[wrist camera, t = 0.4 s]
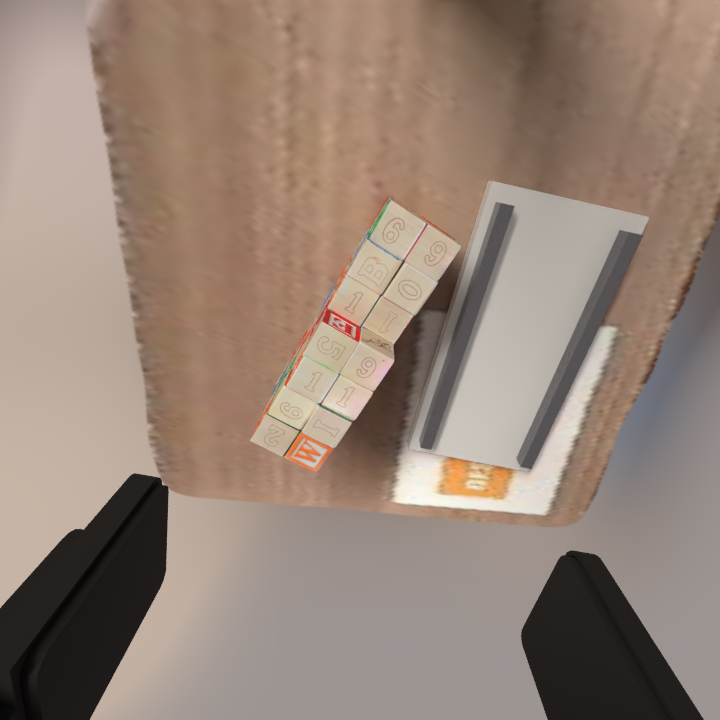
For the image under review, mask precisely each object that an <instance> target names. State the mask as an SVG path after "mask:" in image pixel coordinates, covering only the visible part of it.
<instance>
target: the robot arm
mask: <svg viewBox="0 0 720 720" xmlns="http://www.w3.org/2000/svg"><path fill="white" fill-rule="evenodd" d="M167 518H168V486H164V485H162V480H161V478H158V477H152V476H147V475H141V474H132V475H131V476H130V477H129V478H128V479H127V480H126V481H125V482H124V484H123V485H122V486H121V487H120V488H119V490H118V491H117V492H116V493H115V494H114V495H113V496H112V498H111V499H110V500H109V501H108V503H106V505H105V506H104V507H103V508H102V509H101V510H100V512H99V513H98V514H97V515H96V516H95V517H94V519H93V520H92V521H91V522H90V523H89V524H88V526H87V527H86V528H85V529H84V530H82V529H75V530H73V531H71V532H70V533H68V534H67V535H66V536H65V537H64V538H63V539H62V540H61V541H60V542H59V543H58V545H57V546H56V547H55V548H54V549H53V550H52V551H51V552H50V553H49V555H48V556H47V557H46V558H45V559H44V560H43V561H42V562H41V563H40V565H39V566H38V567H37V568H36V569H35V570H34V571H33V573H32V574H31V575H30V576H29V577H28V578H27V579H26V580H25V581H24V582H23V583H22V585H21V586H20V587H19V588H18V589H17V590H16V591H15V592H14V594H13V595H12V596H11V597H10V598H9V599H8V600H7V601H6V602H5V604H4V605H3V606H2V607H1V608H0V720H90V718H91V716H92V714H93V712H94V710H95V708H96V706H97V705H98V703H99V701H100V699H101V697H102V695H103V694H104V692H105V690H106V688H107V686H108V684H109V682H110V680H111V679H112V677H113V675H114V673H115V671H116V669H117V667H118V666H119V664H120V661H121V660H122V658H123V656H124V654H125V652H126V651H127V649H128V647H129V645H130V643H131V641H132V639H133V637H134V636H135V634H136V632H137V630H138V628H139V626H140V624H141V623H142V621H143V619H144V617H145V615H146V613H147V611H148V609H149V608H150V606H151V604H152V602H153V600H154V598H155V596H156V595H157V593H158V591H159V589H160V587H161V585H162V582H163V580H164V576H165V572H166V551H167V520H168V519H167ZM521 638H522V645H523V648H524V651H525V654H526V657H527V660H528V663H529V666H530V669H531V671H532V675H533V677H534V681H535V683H536V686H537V689H538V692H539V695H540V698H541V701H542V704H543V707H544V710H545V713H546V716H547V718H548V720H703V718H702V716H701V715H700V713H699V712H698V710H697V708H696V707H695V705H694V704H693V702H692V701H691V699H690V697H689V696H688V694H687V693H686V691H685V690H684V688H683V687H682V685H681V684H680V682H679V680H678V679H677V677H676V676H675V674H674V672H673V671H672V670H671V668H670V666H669V665H668V663H667V662H666V660H665V659H664V657H663V655H662V654H661V652H660V651H659V649H658V647H657V646H656V644H655V643H654V642H653V640H652V638H651V637H650V635H649V633H648V632H647V630H646V629H645V627H644V626H643V624H642V623H641V621H640V619H639V618H638V616H637V615H636V613H635V612H634V610H633V609H632V607H631V605H630V604H629V602H628V601H627V599H626V597H625V596H624V594H623V593H622V591H621V590H620V588H619V587H618V585H617V583H616V582H615V580H614V579H613V577H612V576H611V574H610V573H609V571H608V569H607V568H606V566H605V565H604V563H603V562H602V560H601V559H600V558H599V557H598V556H597V555H595V554H589V553H583V552H578V551H569V552H567V553H566V555H565V556H561V557H560V559H559V560H558V562H557V564H556V566H555V568H554V570H553V571H552V573H551V575H550V577H549V579H548V581H547V583H546V585H545V586H544V588H543V590H542V592H541V594H540V596H539V598H538V600H537V602H536V604H535V605H534V608H533V609H532V611H531V613H530V615H529V617H528V619H527V621H526V623H525V625H524V627H523V629H522V634H521Z"/></svg>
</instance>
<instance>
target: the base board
mask: <svg viewBox="0 0 720 720" xmlns="http://www.w3.org/2000/svg"><path fill="white" fill-rule="evenodd" d="M649 218H650V217H647V216H643V215H638V214H634V213H630V212H625V211H621V210H617V209H612V208H608V207H604V206H599V205H595V204H591V203H586V202H582V201H578V200H573V199H569V198H565V197H560V196H556V195H552V194H547V193H543V192H539V191H534V190H530V189H526V188H521V187H517V186H512V185H508V184H504V183H499V182H495V181H488V182H487V186H486V189H485V192H484V195H483V199H482V202H481V205H480V208H479V212H478V215H477V218H476V221H475V225H474V228H473V231H472V234H471V238H470V241H469V244H468V247H467V250H466V254H465V257H464V260H463V263H462V267H461V270H460V273H459V276H458V280H457V283H456V286H455V289H454V293H453V296H452V299H451V302H450V305H449V309H448V312H447V315H446V318H445V322H444V325H443V328H442V331H441V335H440V338H439V341H438V344H437V348H436V351H435V354H434V357H433V361H432V364H431V367H430V370H429V373H428V377H427V380H426V383H425V386H424V390H423V393H422V396H421V399H420V403H419V406H418V409H417V412H416V416H415V419H414V422H413V425H412V429H411V432H410V435H409V438H408V448H409V449H410V450H416V451H421V452H426V453H431V454H437V455H442V456H447V457H453V458H458V459H463V460H468V461H474V462H479V463H484V464H489V465H495V466H500V467H505V468H511V469H516V470H521V471H526V472H529V469H531V468H532V466H533V464H534V462H535V460H536V458H537V456H538V454H539V452H540V450H541V447H542V445H543V443H544V441H545V439H546V437H547V435H548V433H549V431H550V429H551V427H552V424H553V422H554V420H555V418H556V416H557V414H558V412H559V410H560V408H561V406H562V404H563V401H564V399H565V397H566V395H567V393H568V391H569V389H570V387H571V385H572V383H573V381H574V379H575V376H576V374H577V372H578V370H579V368H580V366H581V364H582V362H583V360H584V358H585V356H586V353H587V351H588V349H589V347H590V345H591V343H592V341H593V339H594V337H595V335H596V333H597V330H598V328H599V326H600V324H601V322H602V320H603V318H604V316H605V314H606V312H607V310H608V308H609V305H610V303H611V301H612V299H613V297H614V295H615V293H616V291H617V289H618V287H619V285H620V282H621V280H622V278H623V276H624V274H625V272H626V270H627V268H628V266H629V264H630V262H631V259H632V257H633V255H634V253H635V251H636V249H637V247H638V245H639V243H640V241H641V239H642V236H643V235H642V232H643V230H644V228H645V226H646V224H647V222H648V220H649Z"/></svg>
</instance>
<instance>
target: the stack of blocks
mask: <svg viewBox="0 0 720 720" xmlns="http://www.w3.org/2000/svg"><path fill="white" fill-rule="evenodd" d="M461 247H462V246H461V245H460V244H459V243H458V242H456V241H455V239H453V238H452V237H451V236H449V235H448V234H447V233H445V232H444V231H442V230H441V229H439V228H438V227H436V226H435V225H433V224H432V223H430V222H429V221H428V220H426V219H425V218H423V217H421V216H419V215H418V214H416V213H415V212H414V211H412V210H411V209H409V208H408V207H406V206H405V205H403V204H402V203H400V202H399V201H397V200H395V199H394V198H392V197H390V196H388V198H387V200H386V201H385V203H384V205H383V207H382V208H381V210H380V212H379V213H378V215H377V217H376V219H375V220H374V222H373V224H372V226H371V227H369V228H368V230H367V232H366V233H365V235H364V237H363V238H362V240H361V242H360V243H359V245H358V247H357V249H356V250H355V252H354V254H353V255H352V257H351V258H350V260H349V262H348V263H347V265H346V267H345V268H344V270H343V272H342V273H341V275H340V277H339V278H338V280H337V283H336V285H335V286H334V288H333V290H332V291H331V293H330V295H329V296H328V298H327V300H326V301H325V303H324V305H323V307H322V308H321V310H320V312H319V313H318V315H317V317H316V318H315V320H314V322H313V323H312V325H311V327H310V328H309V330H308V331H307V332H306V334H305V335H304V337H303V338H302V340H301V342H300V343H299V345H298V347H297V348H296V350H295V352H294V353H293V355H292V356H291V358H290V359H289V361H288V363H287V364H286V366H285V367H284V369H283V371H282V372H281V374H280V377H279V379H278V381H277V383H276V385H275V389H274V391H273V393H272V396H271V398H270V400H269V401H268V403H267V405H266V407H265V409H264V411H263V413H262V415H261V418H260V420H259V422H258V424H257V426H256V428H255V431H254V433H253V435H252V437H251V441H252V442H254V443H256V444H258V445H260V446H262V447H264V448H266V449H268V450H270V451H272V452H273V453H275V454H277V455H279V456H281V457H282V456H285V458H286V459H288V460H290V461H292V462H294V463H296V464H298V465H300V466H302V467H304V468H306V469H309V470H311V471H313V472H316V473H317V472H318V470H319V469H320V467H321V466H322V465H323V463H324V462H325V460H326V459H327V458H328V456H329V455H330V453H331V452H332V450H333V448H335V447H336V446H337V445H338V443H339V442H340V440H341V439H342V437H343V436H344V435H345V433H346V432H347V430H348V429H349V427H350V426H351V424H352V421H353V420H355V419H356V418H357V417H358V416H359V414H360V412H361V411H362V409H363V408H364V407H365V405H366V404H367V402H368V401H369V399H370V398H371V396H372V394H373V392H374V391H375V390H376V388H377V387H378V385H379V384H380V382H381V381H382V379H383V378H384V376H385V375H386V373H387V372H388V371H389V369H390V368H391V366H392V365H393V363H394V361H395V360H394V346H393V345H394V344H395V343H396V341H397V340H398V338H399V337H400V335H401V334H402V332H403V331H404V330H405V328H406V327H407V325H408V324H409V323H410V321H411V320H412V318H413V317H414V316H415V315H416V314H417V313H418V312H419V310H420V309H421V307H422V306H423V305H424V303H425V302H426V300H427V299H428V298H429V296H430V295H431V293H432V292H433V290H434V289H435V287H436V286H437V285H438V280H439V279H440V278H441V276H442V275H443V273H444V272H445V271H446V269H447V268H448V266H449V265H450V263H451V262H452V261H453V259H454V258H455V256H456V255H457V253H458V252H459V251H460V249H461Z"/></svg>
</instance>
